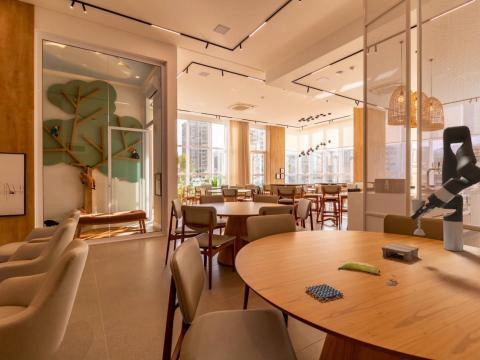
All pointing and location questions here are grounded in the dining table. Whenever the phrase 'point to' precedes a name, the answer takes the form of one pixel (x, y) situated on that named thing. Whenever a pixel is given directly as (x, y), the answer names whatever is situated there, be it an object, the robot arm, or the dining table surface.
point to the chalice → (415, 206)
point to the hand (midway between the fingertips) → (414, 218)
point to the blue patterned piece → (324, 292)
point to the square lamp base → (401, 251)
